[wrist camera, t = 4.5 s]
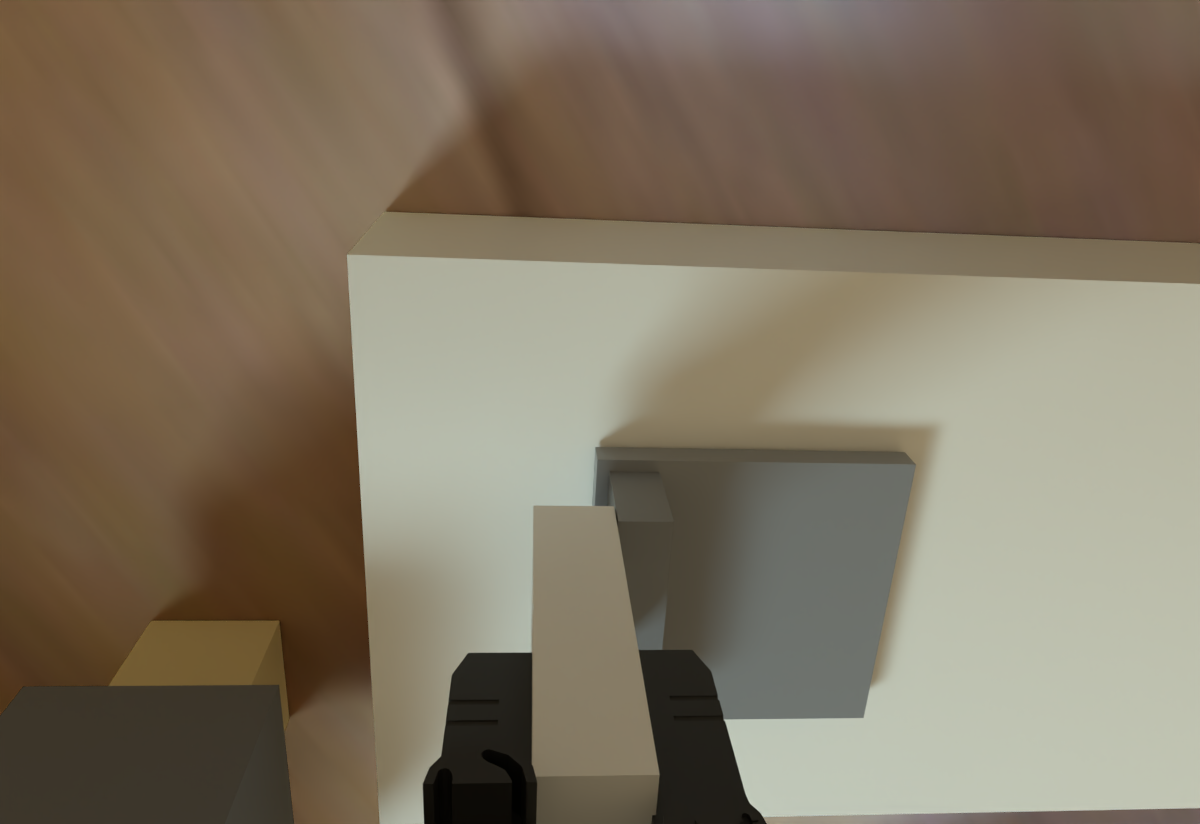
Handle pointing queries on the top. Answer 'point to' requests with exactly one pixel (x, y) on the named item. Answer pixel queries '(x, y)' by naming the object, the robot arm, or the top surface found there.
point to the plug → (157, 735)
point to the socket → (820, 423)
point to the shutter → (762, 566)
